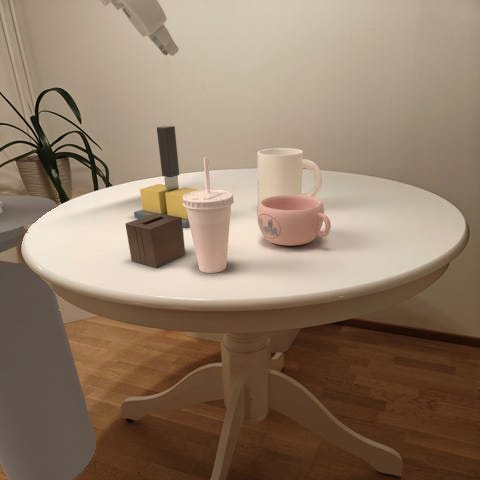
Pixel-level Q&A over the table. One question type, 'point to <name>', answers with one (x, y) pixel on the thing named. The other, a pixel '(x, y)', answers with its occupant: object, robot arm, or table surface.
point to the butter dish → (144, 213)
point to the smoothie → (209, 224)
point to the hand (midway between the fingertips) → (171, 53)
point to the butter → (165, 200)
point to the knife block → (155, 239)
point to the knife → (168, 156)
